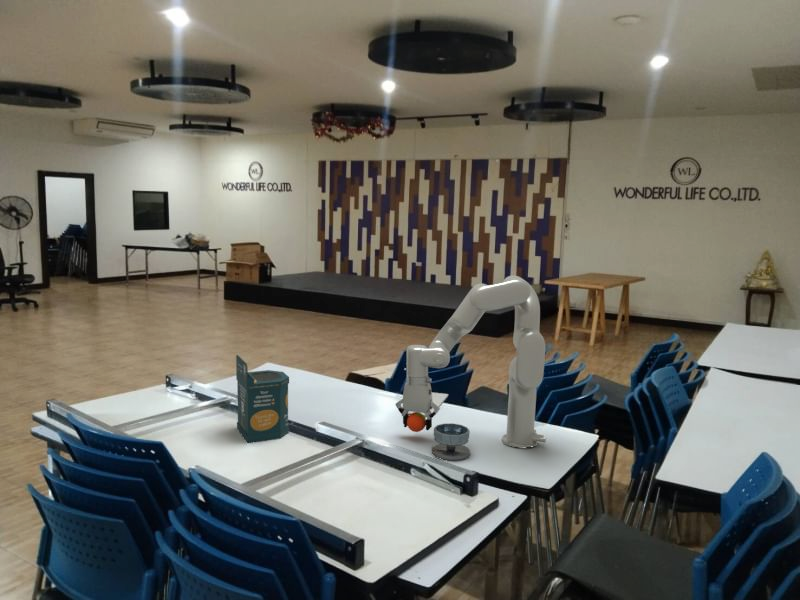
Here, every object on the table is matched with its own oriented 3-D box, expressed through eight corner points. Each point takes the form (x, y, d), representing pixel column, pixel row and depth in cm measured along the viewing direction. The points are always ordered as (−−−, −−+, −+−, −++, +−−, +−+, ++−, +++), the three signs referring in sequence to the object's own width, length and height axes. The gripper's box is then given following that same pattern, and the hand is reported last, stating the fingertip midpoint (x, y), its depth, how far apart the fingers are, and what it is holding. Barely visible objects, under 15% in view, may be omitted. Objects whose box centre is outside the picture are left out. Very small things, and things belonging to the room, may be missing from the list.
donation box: (236, 428, 225) (236, 354, 221) (279, 422, 233) (279, 350, 229) (247, 443, 211) (246, 364, 207) (292, 436, 219) (292, 360, 215)
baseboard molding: (401, 415, 246) (430, 419, 243) (402, 408, 246) (430, 412, 242) (422, 394, 276) (448, 397, 272) (422, 388, 275) (448, 391, 272)
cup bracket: (474, 450, 211) (475, 426, 210) (463, 464, 199) (464, 439, 198) (438, 443, 216) (439, 420, 215) (426, 456, 204) (426, 432, 203)
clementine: (432, 431, 219) (432, 412, 218) (419, 437, 214) (419, 417, 213) (415, 426, 225) (415, 407, 224) (402, 431, 220) (402, 412, 219)
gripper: (443, 379, 217) (443, 427, 219) (398, 375, 224) (399, 421, 226) (436, 385, 210) (436, 434, 213) (390, 380, 217) (390, 427, 219)
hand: (417, 427), depth 219 cm, fingers closed on clementine, 7 cm apart
